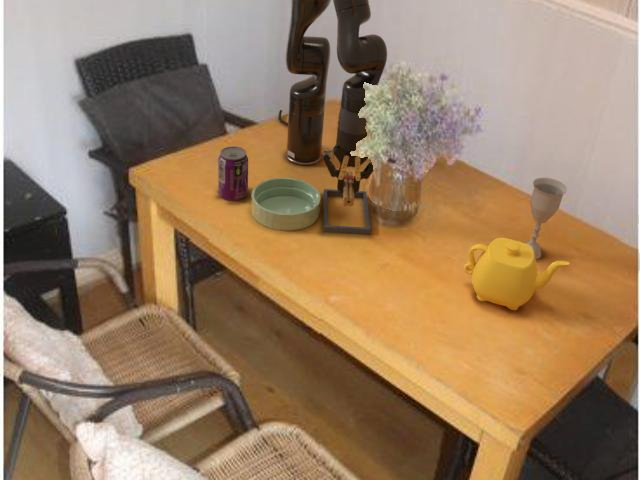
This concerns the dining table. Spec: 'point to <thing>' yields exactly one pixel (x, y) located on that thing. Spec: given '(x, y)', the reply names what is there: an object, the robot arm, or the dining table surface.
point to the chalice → (544, 206)
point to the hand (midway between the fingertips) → (347, 191)
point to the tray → (345, 228)
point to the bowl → (285, 204)
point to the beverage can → (233, 173)
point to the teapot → (507, 272)
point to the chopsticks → (348, 189)
